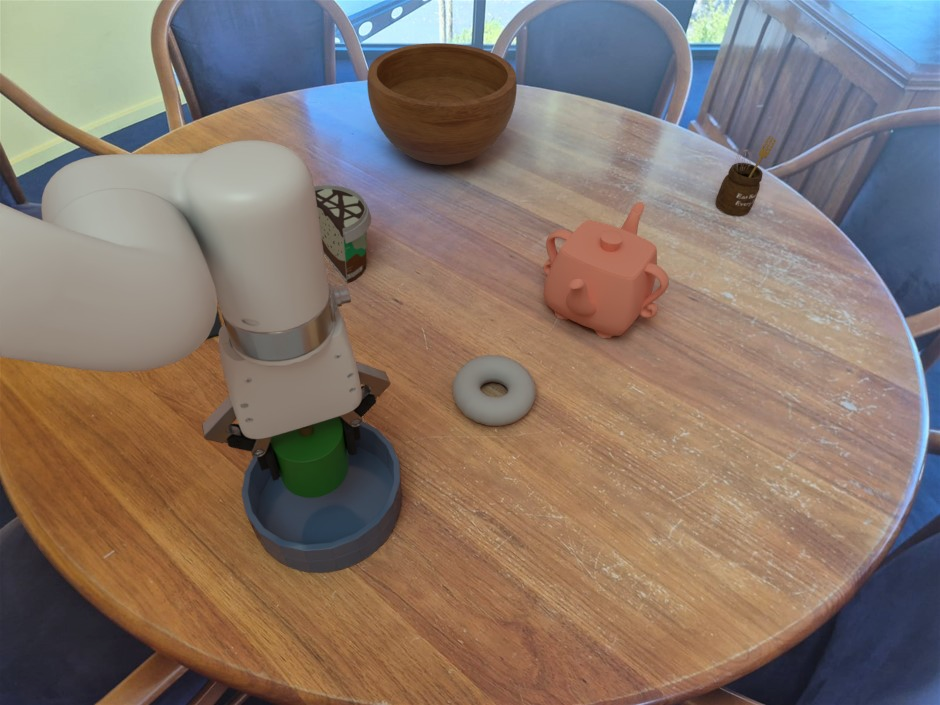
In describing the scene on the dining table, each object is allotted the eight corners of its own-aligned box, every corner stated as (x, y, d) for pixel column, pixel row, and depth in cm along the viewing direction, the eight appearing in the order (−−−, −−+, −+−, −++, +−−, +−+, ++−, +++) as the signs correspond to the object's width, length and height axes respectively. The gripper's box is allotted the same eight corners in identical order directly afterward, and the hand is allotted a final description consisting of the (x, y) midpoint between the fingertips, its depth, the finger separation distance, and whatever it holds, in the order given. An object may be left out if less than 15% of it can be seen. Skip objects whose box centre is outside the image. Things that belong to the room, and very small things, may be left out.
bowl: (409, 207, 102) (406, 119, 91) (352, 138, 116) (343, 56, 105) (536, 172, 111) (547, 89, 100) (468, 113, 125) (471, 34, 114)
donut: (545, 385, 77) (473, 356, 80) (550, 367, 75) (475, 338, 77) (514, 445, 71) (437, 411, 73) (517, 427, 68) (437, 393, 71)
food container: (390, 274, 90) (386, 216, 83) (352, 289, 88) (344, 231, 80) (351, 231, 97) (344, 174, 90) (315, 243, 94) (304, 186, 87)
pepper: (289, 507, 57) (275, 464, 51) (274, 453, 61) (260, 407, 55) (357, 484, 59) (350, 440, 53) (338, 433, 63) (330, 387, 57)
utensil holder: (706, 202, 106) (731, 137, 97) (732, 193, 109) (758, 129, 100) (732, 220, 103) (759, 155, 94) (758, 211, 105) (788, 145, 96)
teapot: (556, 357, 80) (572, 282, 71) (527, 274, 91) (537, 201, 82) (665, 346, 82) (694, 272, 73) (624, 267, 93) (644, 194, 84)
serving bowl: (271, 598, 58) (259, 575, 54) (241, 468, 67) (229, 442, 63) (423, 538, 62) (422, 514, 59) (375, 425, 72) (372, 398, 68)
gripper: (377, 259, 50) (386, 399, 63) (146, 311, 45) (209, 453, 58) (410, 319, 45) (413, 457, 58) (157, 385, 40) (222, 521, 53)
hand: (311, 454), depth 58 cm, fingers closed on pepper, 6 cm apart
